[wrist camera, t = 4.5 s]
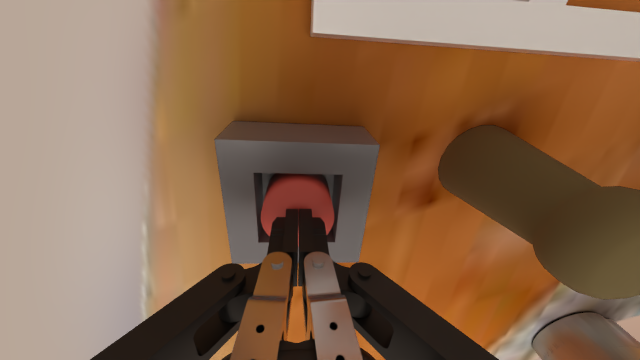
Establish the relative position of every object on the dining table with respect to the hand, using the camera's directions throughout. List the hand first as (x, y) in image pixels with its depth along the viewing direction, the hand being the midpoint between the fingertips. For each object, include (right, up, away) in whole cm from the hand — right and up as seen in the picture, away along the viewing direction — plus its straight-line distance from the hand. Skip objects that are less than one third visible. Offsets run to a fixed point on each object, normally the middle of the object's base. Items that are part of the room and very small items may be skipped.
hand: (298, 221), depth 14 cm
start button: (0, +1, +3) cm, 3 cm away
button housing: (0, +2, +4) cm, 5 cm away
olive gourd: (+14, +4, +5) cm, 15 cm away
